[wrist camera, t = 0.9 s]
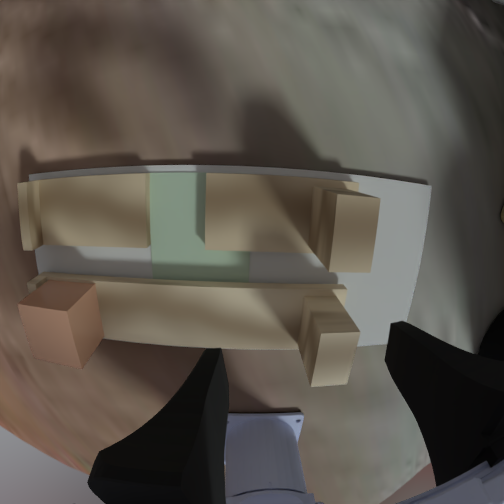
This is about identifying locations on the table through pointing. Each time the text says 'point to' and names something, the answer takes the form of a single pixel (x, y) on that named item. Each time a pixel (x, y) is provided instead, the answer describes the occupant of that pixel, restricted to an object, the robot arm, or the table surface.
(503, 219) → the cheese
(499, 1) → the white spiky cylinder
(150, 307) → the beige wooden beam
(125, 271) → the mat
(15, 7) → the table surface
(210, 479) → the robot arm
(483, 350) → the coffee jar
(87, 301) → the cube
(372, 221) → the broken strip
